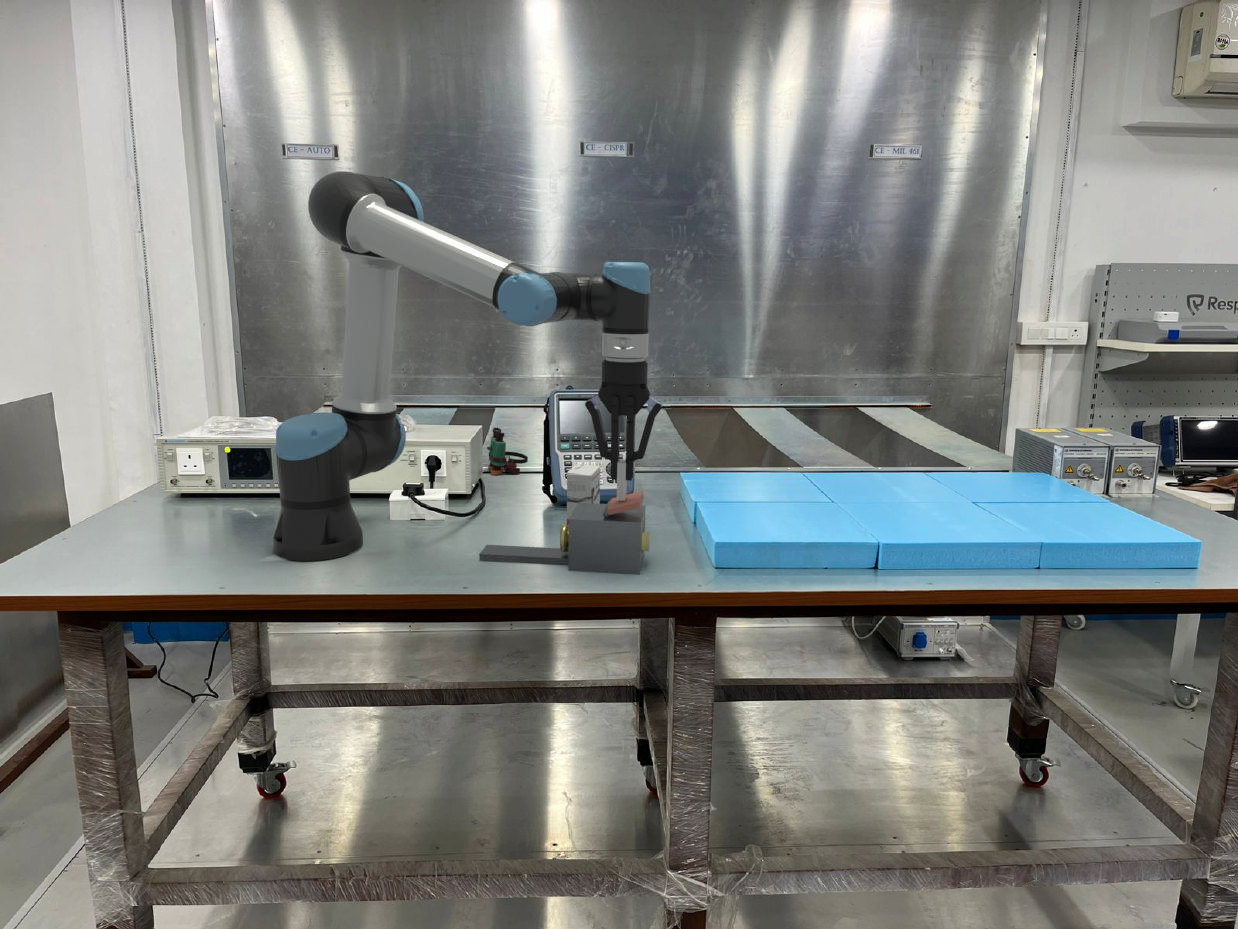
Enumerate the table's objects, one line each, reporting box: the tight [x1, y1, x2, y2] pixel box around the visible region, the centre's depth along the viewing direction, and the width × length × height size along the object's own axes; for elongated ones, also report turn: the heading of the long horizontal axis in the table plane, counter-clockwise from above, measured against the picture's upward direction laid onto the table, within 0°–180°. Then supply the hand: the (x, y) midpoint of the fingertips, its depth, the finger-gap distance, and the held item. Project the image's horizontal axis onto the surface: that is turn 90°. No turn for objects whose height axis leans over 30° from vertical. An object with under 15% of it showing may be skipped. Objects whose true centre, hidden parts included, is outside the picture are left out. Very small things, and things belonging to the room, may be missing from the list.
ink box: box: [566, 463, 601, 524], centre depth 163 cm, size 9×5×12 cm, turn 168°
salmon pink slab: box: [603, 490, 645, 518], centre depth 143 cm, size 1×7×6 cm
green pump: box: [486, 427, 529, 476], centre depth 206 cm, size 9×11×10 cm
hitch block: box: [478, 503, 646, 575], centre depth 145 cm, size 28×10×9 cm, turn 84°
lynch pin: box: [559, 523, 651, 552], centre depth 145 cm, size 15×5×5 cm, turn 84°
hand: (621, 498), depth 143 cm, fingers closed
